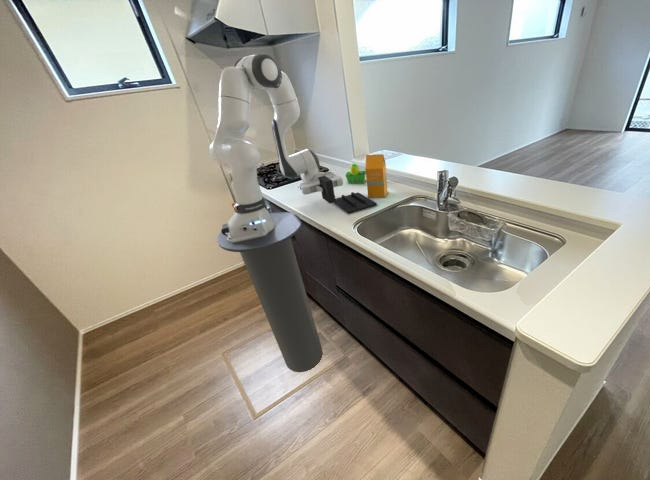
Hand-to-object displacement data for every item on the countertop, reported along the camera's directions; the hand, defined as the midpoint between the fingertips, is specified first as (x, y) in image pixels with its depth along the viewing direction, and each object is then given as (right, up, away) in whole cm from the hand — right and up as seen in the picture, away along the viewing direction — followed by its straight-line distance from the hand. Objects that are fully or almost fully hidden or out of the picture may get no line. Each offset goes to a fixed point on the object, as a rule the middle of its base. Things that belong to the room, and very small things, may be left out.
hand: (327, 188), depth 135 cm
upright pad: (0, -4, +4) cm, 6 cm away
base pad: (+11, -3, +13) cm, 18 cm away
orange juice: (+23, +3, +20) cm, 31 cm away
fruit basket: (+11, +16, +40) cm, 45 cm away
